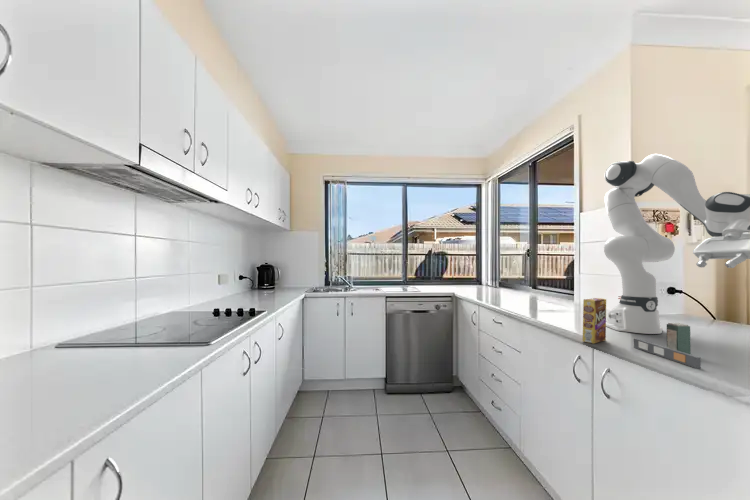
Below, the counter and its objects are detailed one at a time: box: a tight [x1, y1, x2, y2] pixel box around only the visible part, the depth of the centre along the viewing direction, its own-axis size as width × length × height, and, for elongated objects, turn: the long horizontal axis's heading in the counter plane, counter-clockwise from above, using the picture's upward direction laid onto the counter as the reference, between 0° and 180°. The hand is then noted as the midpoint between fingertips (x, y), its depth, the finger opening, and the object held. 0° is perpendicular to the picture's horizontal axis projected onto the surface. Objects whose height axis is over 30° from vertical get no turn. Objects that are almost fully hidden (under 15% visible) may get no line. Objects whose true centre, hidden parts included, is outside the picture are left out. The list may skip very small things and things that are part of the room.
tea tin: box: [666, 322, 692, 355], centre depth 111 cm, size 4×4×9 cm
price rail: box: [633, 337, 702, 369], centre depth 108 cm, size 22×1×3 cm, turn 3°
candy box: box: [582, 297, 607, 345], centre depth 127 cm, size 9×4×15 cm, turn 123°
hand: (713, 266), depth 111 cm, fingers open, 8 cm apart
